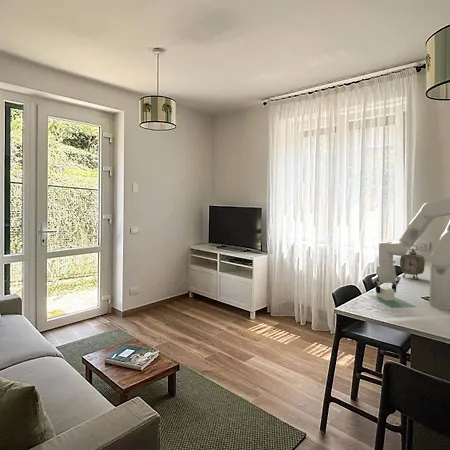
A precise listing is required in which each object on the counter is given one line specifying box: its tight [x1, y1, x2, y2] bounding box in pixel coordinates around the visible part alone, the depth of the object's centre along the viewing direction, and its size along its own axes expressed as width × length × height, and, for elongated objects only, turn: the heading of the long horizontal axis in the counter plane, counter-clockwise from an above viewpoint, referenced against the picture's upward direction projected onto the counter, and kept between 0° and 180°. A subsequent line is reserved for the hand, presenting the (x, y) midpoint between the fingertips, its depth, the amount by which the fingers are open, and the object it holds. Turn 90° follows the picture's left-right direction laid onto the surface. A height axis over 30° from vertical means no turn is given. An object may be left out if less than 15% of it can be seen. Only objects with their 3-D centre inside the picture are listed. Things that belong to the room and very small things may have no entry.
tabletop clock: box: [399, 244, 426, 281], centre depth 257 cm, size 14×9×25 cm, turn 28°
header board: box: [369, 294, 417, 309], centre depth 195 cm, size 14×24×5 cm, turn 6°
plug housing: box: [375, 285, 395, 301], centre depth 201 cm, size 5×10×6 cm, turn 6°
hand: (386, 292), depth 201 cm, fingers open, 9 cm apart
